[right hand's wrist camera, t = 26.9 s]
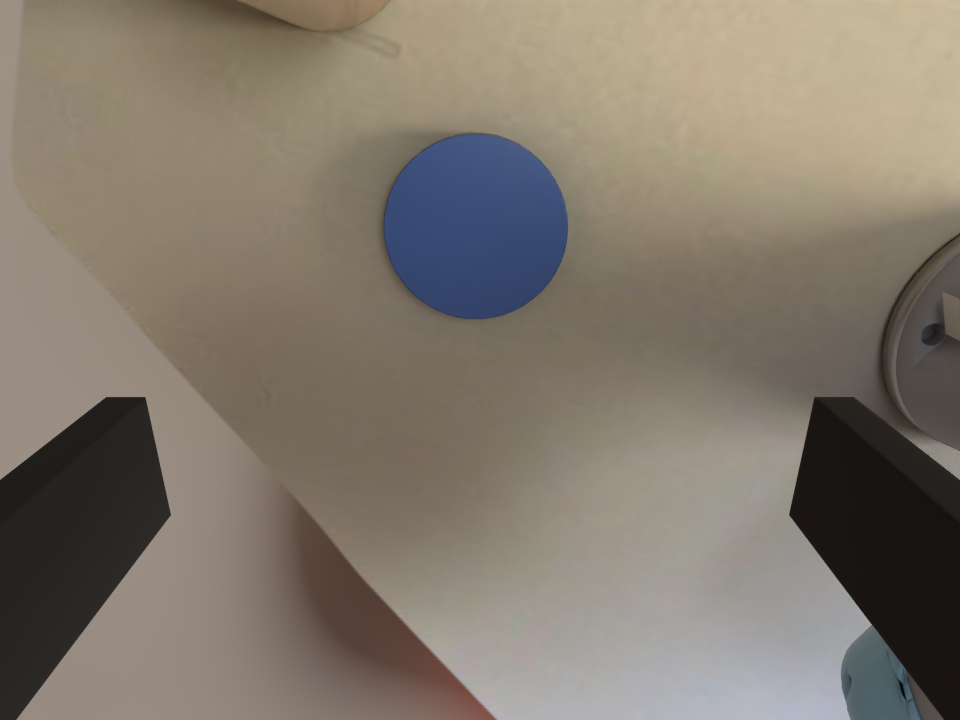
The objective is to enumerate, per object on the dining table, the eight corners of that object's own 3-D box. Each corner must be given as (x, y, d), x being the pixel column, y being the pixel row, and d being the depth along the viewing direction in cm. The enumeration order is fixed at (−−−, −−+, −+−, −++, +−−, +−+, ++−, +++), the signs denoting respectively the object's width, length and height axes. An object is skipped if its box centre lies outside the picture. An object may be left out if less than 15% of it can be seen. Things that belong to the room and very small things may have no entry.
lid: (352, 232, 37) (346, 238, 35) (468, 91, 34) (468, 90, 32) (482, 341, 39) (482, 352, 38) (600, 219, 37) (606, 225, 35)
